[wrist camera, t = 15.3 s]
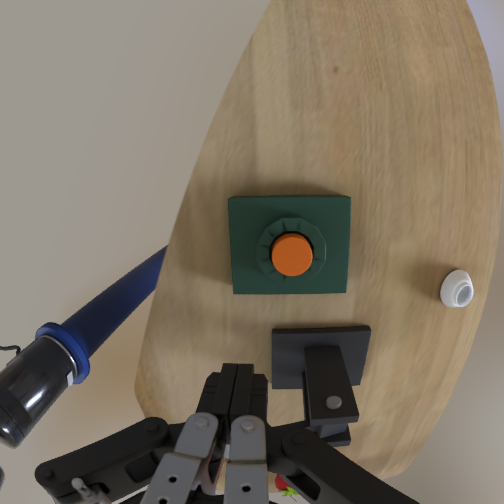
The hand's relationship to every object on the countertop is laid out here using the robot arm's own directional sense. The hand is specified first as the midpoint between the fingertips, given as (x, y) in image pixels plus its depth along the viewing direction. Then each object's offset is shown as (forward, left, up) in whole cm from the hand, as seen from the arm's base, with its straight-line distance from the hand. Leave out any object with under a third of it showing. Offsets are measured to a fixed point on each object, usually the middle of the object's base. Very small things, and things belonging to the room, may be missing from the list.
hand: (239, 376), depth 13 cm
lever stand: (+7, -13, -19) cm, 24 cm away
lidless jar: (+25, -4, -19) cm, 31 cm away
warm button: (+3, +2, -15) cm, 15 cm away
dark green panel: (+3, +2, -19) cm, 19 cm away
